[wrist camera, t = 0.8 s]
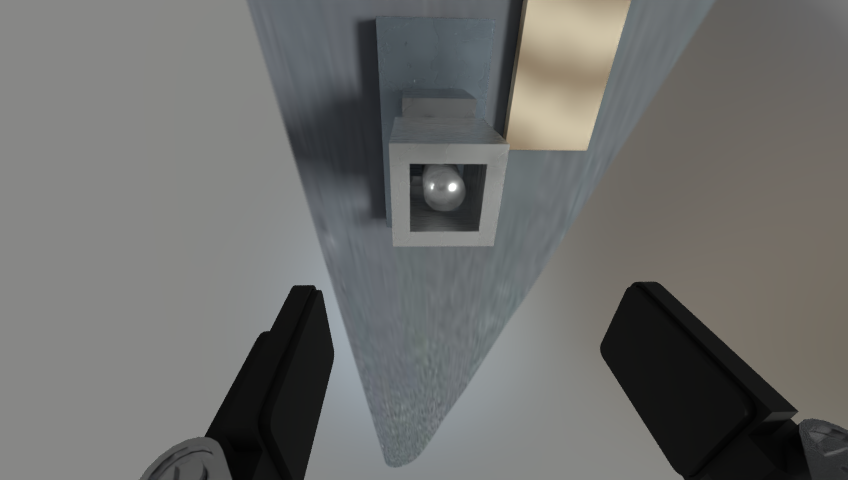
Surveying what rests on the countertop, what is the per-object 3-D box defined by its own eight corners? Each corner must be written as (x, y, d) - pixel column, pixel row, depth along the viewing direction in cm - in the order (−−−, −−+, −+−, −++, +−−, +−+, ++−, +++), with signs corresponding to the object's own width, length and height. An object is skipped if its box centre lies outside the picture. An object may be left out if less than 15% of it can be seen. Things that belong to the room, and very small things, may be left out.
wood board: (529, -44, 23) (535, -48, 22) (633, -40, 23) (643, -44, 22) (501, 146, 30) (504, 149, 29) (580, 147, 31) (586, 150, 30)
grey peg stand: (378, 18, 25) (347, -12, 13) (489, 21, 25) (561, -6, 13) (387, 218, 34) (375, 309, 22) (468, 218, 34) (499, 307, 22)
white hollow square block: (394, 116, 21) (388, 143, 15) (482, 118, 21) (510, 144, 15) (397, 197, 24) (393, 246, 18) (473, 198, 24) (493, 246, 18)
